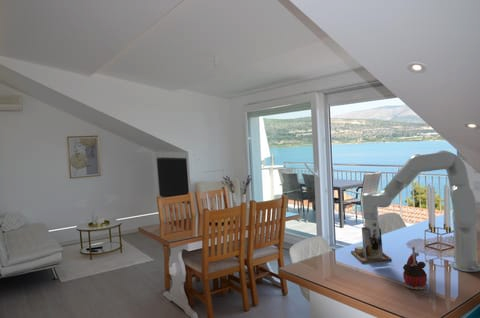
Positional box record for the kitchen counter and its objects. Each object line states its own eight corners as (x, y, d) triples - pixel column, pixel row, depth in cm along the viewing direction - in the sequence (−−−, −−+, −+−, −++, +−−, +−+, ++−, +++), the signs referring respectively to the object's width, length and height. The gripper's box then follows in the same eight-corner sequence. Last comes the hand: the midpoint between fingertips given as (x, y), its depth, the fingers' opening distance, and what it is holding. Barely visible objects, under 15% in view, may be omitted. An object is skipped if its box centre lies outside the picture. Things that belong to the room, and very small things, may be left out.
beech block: (365, 255, 208) (364, 248, 208) (359, 256, 207) (358, 249, 207) (361, 253, 212) (360, 246, 212) (355, 254, 211) (354, 247, 211)
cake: (412, 292, 158) (410, 251, 158) (398, 284, 167) (396, 246, 167) (433, 288, 161) (431, 248, 160) (418, 281, 170) (416, 243, 169)
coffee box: (379, 254, 204) (378, 226, 203) (383, 258, 197) (381, 228, 196) (363, 255, 204) (361, 226, 204) (366, 258, 198) (364, 229, 197)
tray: (391, 262, 196) (391, 258, 196) (362, 265, 195) (362, 260, 195) (378, 252, 214) (378, 248, 214) (351, 255, 213) (351, 250, 213)
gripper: (383, 218, 191) (385, 251, 192) (371, 212, 209) (373, 242, 209) (369, 219, 191) (371, 252, 192) (358, 213, 208) (360, 243, 209)
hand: (372, 247), depth 201 cm, fingers closed on coffee box, 6 cm apart
